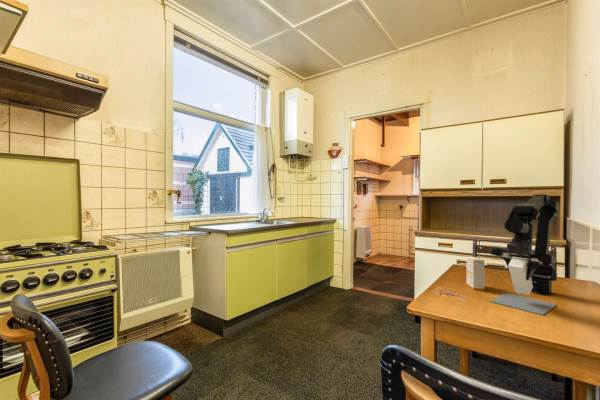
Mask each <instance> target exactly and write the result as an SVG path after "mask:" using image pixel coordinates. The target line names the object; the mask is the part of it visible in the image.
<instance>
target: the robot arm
mask: <svg viewBox="0 0 600 400" xmlns="http://www.w3.org/2000/svg"><path fill="white" fill-rule="evenodd" d="M559 213H560V204H559V202H558V200H556V199H554V198H551V197H550V195H549V194H544V193H543V194H541V193H540V194H533V195H532V196H531V198H529V199H528V200H527V201H526V202H525V203H519V204H516V205H514V206H513V208H511V211H510V213H509V215H508V218H507V219H506V221H505V222H504V229H505V230H506V231H507V232H509V233H511V234H513V237H512V239H511V242H509V243H507V244H506V249H504V248H498V247H492V249H490V255H492V256H495V257H500V259H503V260H504V262H505V264H506V266H507V269H508V273H509V275H510V271H509V267H508V265H509V263H510V261H511V259H512V258H517V259H525V260H527V259H528V260H527V264H528V270H527V276H526V280H529V279H530V277H531V281H532V285H533V288H532V291H531V292H532V293H535V294H538V295H541V296H548V295H556V292H553V290H552V285H553V283H552V282H554V281H557V279H558V277H557V273H556V269H555V267H554V265H556V263H557V261H556V260H557V259H556V257H555V256H554V255H552V254H549V252H550V241H551V233H552V232H551V231H552V223H553V222H554V221H555V220H556V219H557V218H558V214H559ZM535 221H537V225H536V233H535V234H536V235H535V236H536V237H535V246H534V253H533V252H532V251H533V245H534V241H533V236H534V224H533V223H535ZM532 222H533V223H532ZM510 277H511V275H510Z"/></svg>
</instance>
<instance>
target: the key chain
mask: <svg viewBox="0 0 600 400" xmlns="http://www.w3.org/2000/svg"><path fill="white" fill-rule="evenodd" d="M443 292H444V293H443ZM437 293H438V294H441V295H440V296H441V297H447V296H452V297H456V299H457V300H460V301H462V302H463V303H464V302H465V303H466V302H467V301H466V300H465V299H464V298H466V295H460V294H458V293H453V292H450V291H446V290H442V293H441V291H440V290H438V291H437ZM459 296H460V297H459ZM462 297H464V298H462Z"/></svg>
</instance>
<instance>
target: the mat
mask: <svg viewBox="0 0 600 400" xmlns="http://www.w3.org/2000/svg"><path fill="white" fill-rule="evenodd" d="M489 301H490V303H493V304H497V305H501V306H505V307H509V308H513V309H517V310H519V311H524V312H528V313H531V314H535V315H539V316H544V315H546V314H547V313H548V312H550V311H551V310H552V309H554V308H556V307H557V303H552V302H547V301H544V300H540V299H534V298H531V297H528V296H527V297H526V296H523V295H518V294H514V293H510V292H506V293H504V294H501V295H499V296H497V297H495V298H493V299H491V300H489Z"/></svg>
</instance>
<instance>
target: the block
mask: <svg viewBox="0 0 600 400" xmlns="http://www.w3.org/2000/svg"><path fill="white" fill-rule="evenodd" d="M527 263H528V260H527V259H522V258H515V257H512V259H511V261H510V263H509V265H508V266H507V268H508V267H509V270H508V272H509V271H510V273H509V275H511V276H510V279H511V282H512V285H513V289H514V293H517V294H521V295H527V296H530V295H531V292H532V288H533V285H532V277H530V279H529V280H526V276H527V270H528V264H527Z"/></svg>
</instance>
